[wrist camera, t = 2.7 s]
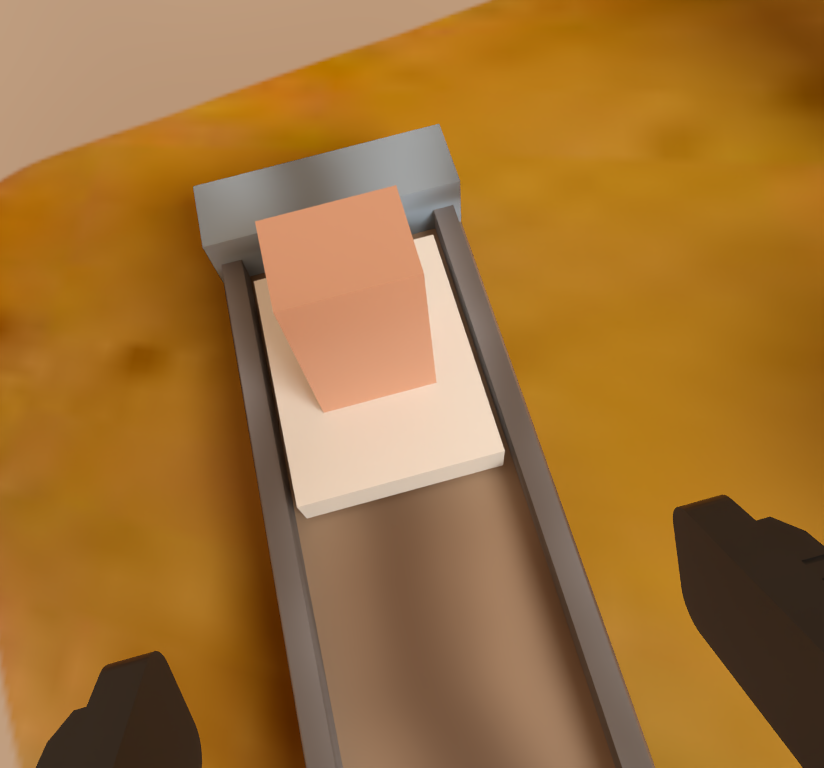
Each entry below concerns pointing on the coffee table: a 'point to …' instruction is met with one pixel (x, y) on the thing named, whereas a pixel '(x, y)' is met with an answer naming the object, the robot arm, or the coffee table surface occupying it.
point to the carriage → (368, 355)
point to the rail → (422, 533)
